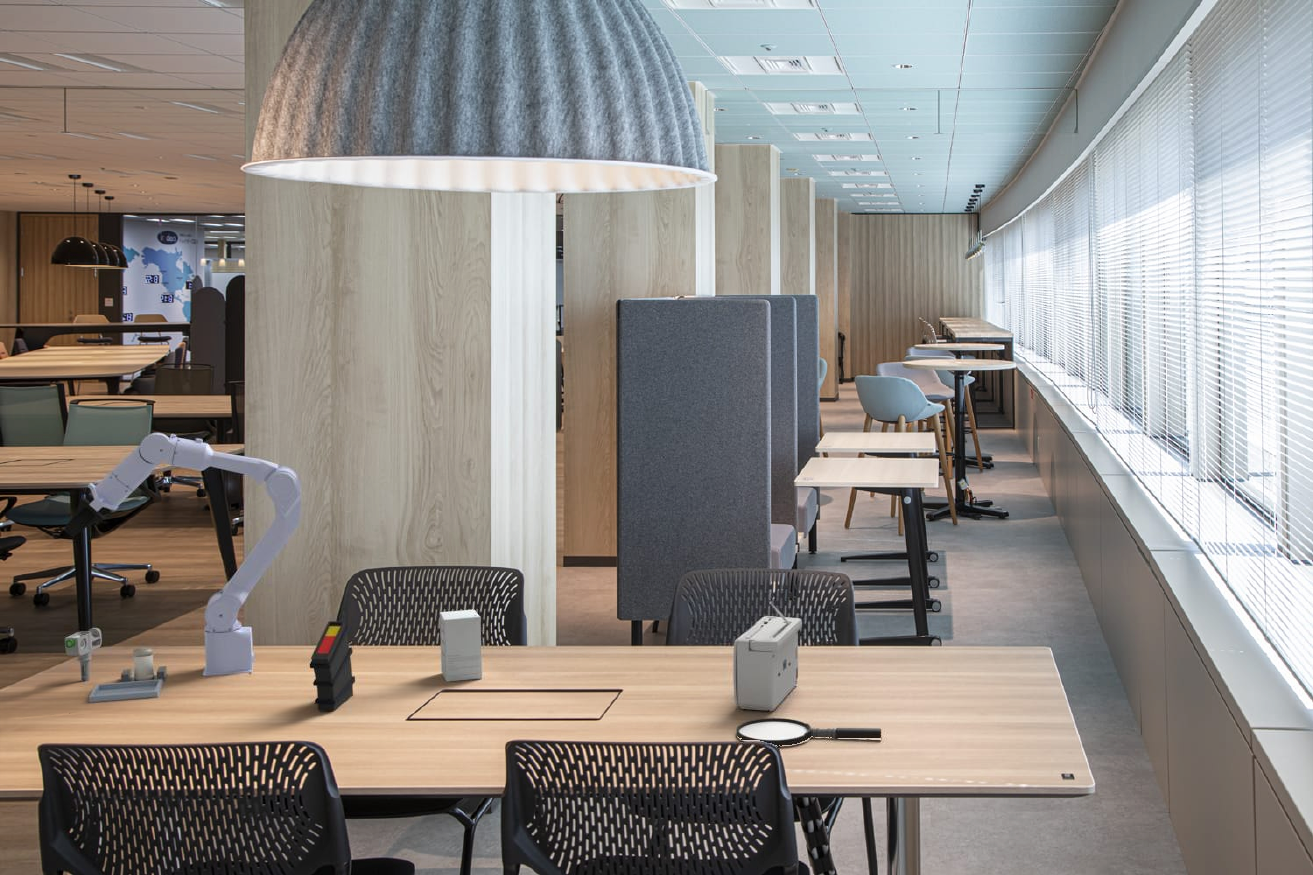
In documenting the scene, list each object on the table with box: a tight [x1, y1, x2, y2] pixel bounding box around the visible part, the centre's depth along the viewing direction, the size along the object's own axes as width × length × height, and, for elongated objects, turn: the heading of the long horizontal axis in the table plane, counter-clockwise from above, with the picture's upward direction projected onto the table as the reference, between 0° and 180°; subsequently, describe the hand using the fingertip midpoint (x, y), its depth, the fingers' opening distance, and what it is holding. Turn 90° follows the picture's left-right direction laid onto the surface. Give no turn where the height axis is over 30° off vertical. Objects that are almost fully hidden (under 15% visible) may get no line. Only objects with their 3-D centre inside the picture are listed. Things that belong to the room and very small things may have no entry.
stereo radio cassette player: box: [732, 601, 803, 712], centre depth 237 cm, size 21×8×20 cm, turn 160°
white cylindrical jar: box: [132, 646, 155, 681], centre depth 255 cm, size 4×4×6 cm
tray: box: [88, 679, 164, 704], centre depth 245 cm, size 12×9×2 cm
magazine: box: [309, 620, 356, 712], centre depth 237 cm, size 4×13×15 cm, turn 174°
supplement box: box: [439, 609, 483, 683], centre depth 255 cm, size 7×7×13 cm
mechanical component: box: [64, 627, 103, 682], centre depth 255 cm, size 3×10×10 cm, turn 174°
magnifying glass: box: [736, 717, 882, 748], centre depth 214 cm, size 12×24×2 cm, turn 81°
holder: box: [120, 665, 169, 683], centre depth 255 cm, size 8×5×2 cm, turn 105°
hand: (71, 530), depth 252 cm, fingers open, 7 cm apart
